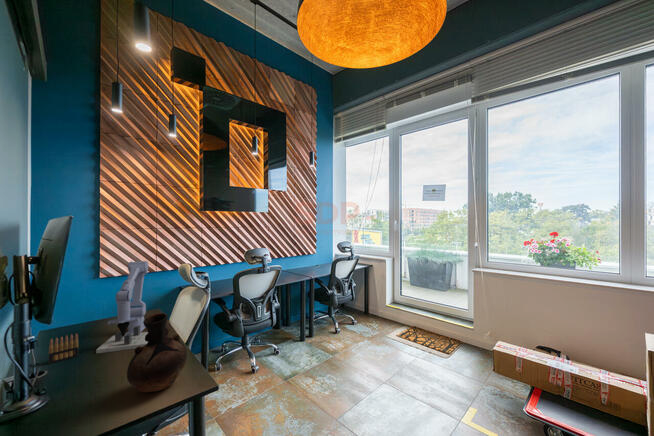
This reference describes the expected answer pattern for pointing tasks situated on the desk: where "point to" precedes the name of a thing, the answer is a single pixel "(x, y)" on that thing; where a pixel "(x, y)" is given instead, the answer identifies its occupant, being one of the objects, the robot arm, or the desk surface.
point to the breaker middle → (118, 336)
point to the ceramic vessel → (157, 357)
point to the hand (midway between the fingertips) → (123, 335)
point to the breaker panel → (119, 345)
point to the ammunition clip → (63, 349)
